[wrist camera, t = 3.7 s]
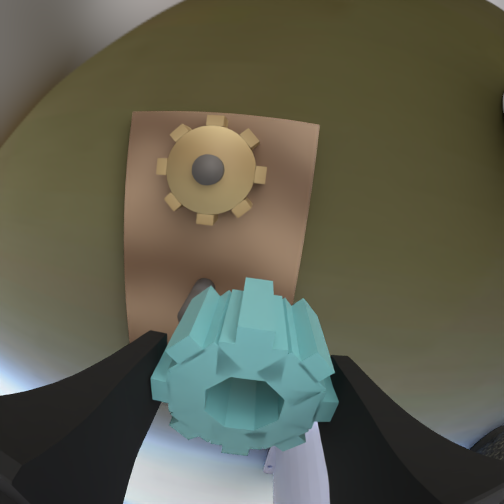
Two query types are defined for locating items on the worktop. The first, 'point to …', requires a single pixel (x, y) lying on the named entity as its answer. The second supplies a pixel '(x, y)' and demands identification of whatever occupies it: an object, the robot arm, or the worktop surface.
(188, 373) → the teal gear
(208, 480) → the worktop surface
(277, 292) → the gear board
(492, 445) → the planter
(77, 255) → the worktop surface
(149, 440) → the worktop surface
